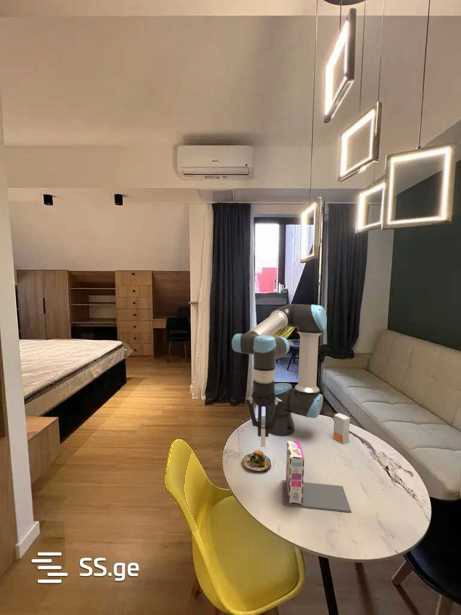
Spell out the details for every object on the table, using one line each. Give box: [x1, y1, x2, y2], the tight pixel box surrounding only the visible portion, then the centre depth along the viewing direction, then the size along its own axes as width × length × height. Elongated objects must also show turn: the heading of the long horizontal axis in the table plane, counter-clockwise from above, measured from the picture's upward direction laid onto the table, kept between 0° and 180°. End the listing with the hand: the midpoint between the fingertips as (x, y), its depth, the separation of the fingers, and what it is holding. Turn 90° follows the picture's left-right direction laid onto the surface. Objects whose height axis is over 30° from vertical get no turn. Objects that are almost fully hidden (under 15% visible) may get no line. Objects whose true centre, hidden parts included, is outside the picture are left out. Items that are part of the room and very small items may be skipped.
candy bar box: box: [285, 440, 305, 504], centre depth 103 cm, size 11×5×16 cm, turn 175°
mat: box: [281, 479, 352, 513], centre depth 103 cm, size 12×22×1 cm, turn 82°
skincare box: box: [332, 412, 351, 445], centre depth 139 cm, size 6×4×12 cm
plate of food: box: [241, 448, 272, 472], centre depth 121 cm, size 12×12×8 cm
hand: (263, 444), depth 104 cm, fingers closed
